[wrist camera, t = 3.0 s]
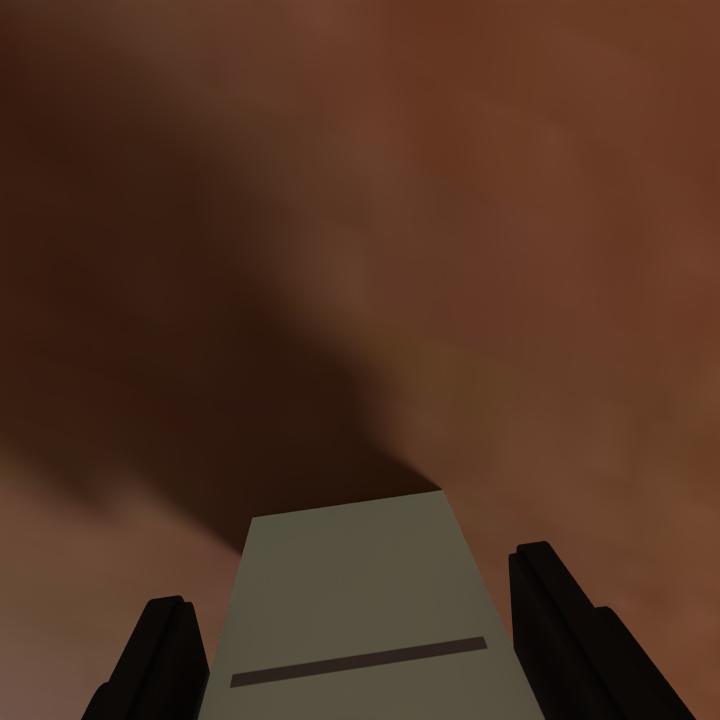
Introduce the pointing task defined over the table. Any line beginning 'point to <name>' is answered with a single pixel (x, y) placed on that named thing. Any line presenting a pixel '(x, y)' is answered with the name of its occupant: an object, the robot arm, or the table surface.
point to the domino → (364, 621)
